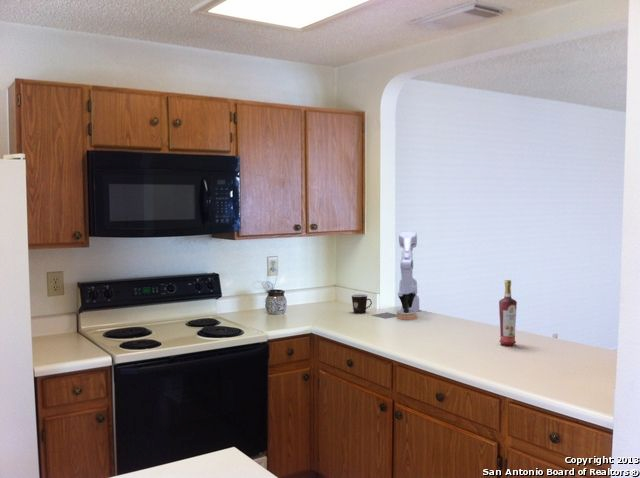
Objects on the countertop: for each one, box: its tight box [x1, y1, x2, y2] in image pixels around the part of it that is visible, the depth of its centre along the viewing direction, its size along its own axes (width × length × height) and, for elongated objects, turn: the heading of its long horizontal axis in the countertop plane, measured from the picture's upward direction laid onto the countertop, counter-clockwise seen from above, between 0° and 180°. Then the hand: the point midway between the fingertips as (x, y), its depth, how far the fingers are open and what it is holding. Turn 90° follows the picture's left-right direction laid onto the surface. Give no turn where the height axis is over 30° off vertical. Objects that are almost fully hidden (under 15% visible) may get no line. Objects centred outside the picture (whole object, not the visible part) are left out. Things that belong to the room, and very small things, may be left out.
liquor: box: [498, 279, 518, 347], centre depth 270 cm, size 7×7×28 cm
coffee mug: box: [351, 293, 373, 315], centre depth 343 cm, size 12×9×10 cm
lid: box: [396, 303, 417, 315], centre depth 328 cm, size 10×10×5 cm
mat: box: [370, 311, 397, 320], centre depth 335 cm, size 12×12×1 cm
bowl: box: [396, 312, 418, 321], centre depth 327 cm, size 10×10×3 cm
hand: (407, 308), depth 327 cm, fingers open, 4 cm apart
